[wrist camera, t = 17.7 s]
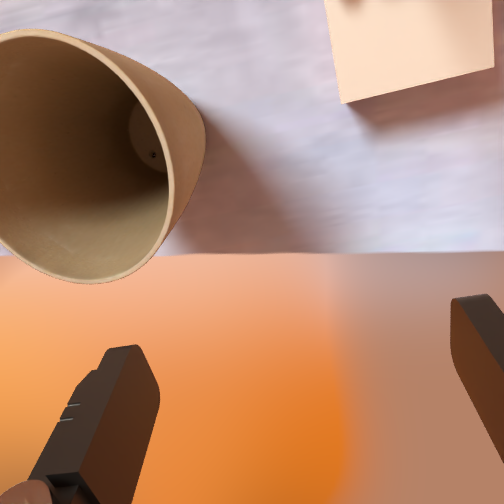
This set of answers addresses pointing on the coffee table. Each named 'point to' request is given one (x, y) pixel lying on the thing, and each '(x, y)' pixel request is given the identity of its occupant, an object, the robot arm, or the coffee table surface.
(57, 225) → the plant pot
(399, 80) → the stand
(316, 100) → the coffee table surface
